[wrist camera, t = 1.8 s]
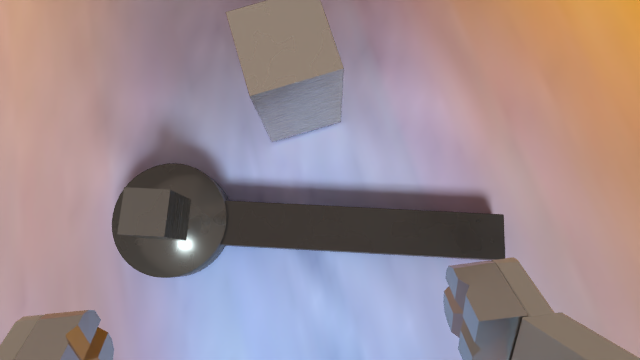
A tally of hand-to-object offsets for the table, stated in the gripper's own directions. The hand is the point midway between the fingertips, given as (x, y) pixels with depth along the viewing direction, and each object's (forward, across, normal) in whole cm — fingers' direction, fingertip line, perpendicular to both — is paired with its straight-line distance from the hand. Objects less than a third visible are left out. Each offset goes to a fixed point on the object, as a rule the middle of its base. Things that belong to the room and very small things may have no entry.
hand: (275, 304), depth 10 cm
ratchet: (+15, 0, +10) cm, 18 cm away
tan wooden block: (+21, -1, +4) cm, 22 cm away
